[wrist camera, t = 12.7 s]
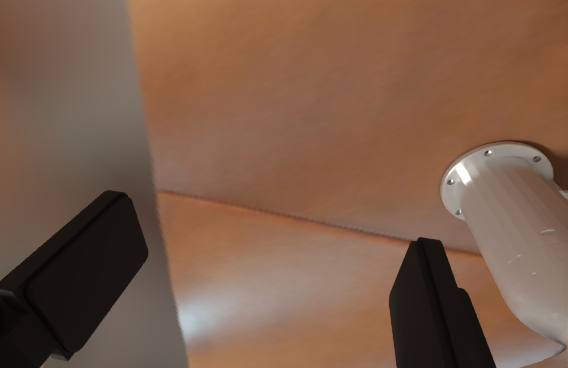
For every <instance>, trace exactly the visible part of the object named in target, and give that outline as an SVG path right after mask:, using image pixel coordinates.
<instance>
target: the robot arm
mask: <svg viewBox="0 0 568 368" xmlns="http://www.w3.org/2000/svg"><path fill="white" fill-rule="evenodd" d="M553 178H554V174H553V168H552V165H551V163H550V161H549V160H548V159H547V157H546V156H545V155H544V154H543V153H541V152H540V151H539V150H538V149H536V148H534V147H532V146H530V145H527V144H524V143H521V142H512V141H505V142H495V143H490V144H486V145H483V146H480V147H477V148H475V149H473V150H471V151H469V152H467V153H465V154H464V155H462V156H461V157H459V158H458V159H457V160H456V161H455V162H454V163H453V164H452V165H451V166H450V167H449V168H448V170H447V171H446V172H445V174H444V176H443V178H442V181H441V185H440V195H441V198H442V201H443V203H444V205H445V207H446V208H447V210H448V211H449V212H450V213H451V214H452V215H454V216H455V217H457V218H459V219H461V220H464V221H466V223H467V225H468V227H469V229H470V231H471V233H472V235H473V237H474V239H475V241H476V243H477V245H478V247H479V249H480V252H481V254H482V256H483V258H484V260H485V262H486V264H487V266H488V268H489V270H490V272H491V274H492V276H493V278H494V280H495V282H496V285H497V287H498V289H499V291H500V292H501V294H502V296H503V299H504V301H505V302H506V304H507V306H508V307H509V309H510V310H511V311H512V312H513V314H514V315H515V316H516V317H517V318H518V319H519V320H520V321H521V322H523V323H524V324H525V325H527V326H528V327H529V328H531V329H532V330H534V331H536V332H537V333H539V334H541V335H543V336H545V337H546V338H548V339H550V340H552V341H555V342H557V343H559V344H561V345H563V346H565V347H566V349H565V351H564V352H562V353H561V354H559V355H556V356H553V357H550V358H547V359H545V360H543V361H541V362H537V363H534V364H531V365H527V366H524V367H521V368H568V190H562V189H561V188H560V187H559V186H558V185H557V184H556V183H555V182H554V181H553ZM147 257H148V248H147V245H146V242H145V239H144V236H143V233H142V230H141V227H140V224H139V221H138V218H137V215H136V212H135V209H134V206H133V202H132V200H131V198H129V197H128V195H127V194H126V193H124V192H118V191H111V190H107V191H105V192H103V193H102V194H101V195H100V196H99V197H98V198H96V199H95V200H94V201H93V202H92V203H91V204H90V205H88V206H87V207H86V208H85V209H83V210H82V211H81V212H80V213H79V214H78V215H77V216H75V217H74V218H73V219H72V220H71V221H70V222H68V223H67V224H66V225H65V226H64V227H63V228H61V229H60V230H59V231H58V232H57V233H56V234H54V235H53V236H52V237H51V238H50V239H49V240H47V241H46V242H45V243H44V244H43V245H42V246H40V247H39V248H38V249H37V250H36V251H35V252H33V253H32V254H31V255H30V256H29V257H28V258H26V259H25V260H24V261H23V262H22V263H21V264H20V265H18V266H17V267H16V268H15V269H14V270H12V271H11V272H10V273H9V274H8V275H7V276H5V277H4V278H3V279H2V280H1V281H0V368H43V367H44V362H45V361H46V360H47V358H48V357H49V356H51V357H52V358H55V359H59V360H64V361H69V360H70V358H71V357H72V356H73V354H74V353H75V352H77V351H79V350H80V349H81V348H82V347H83V346H84V345H85V343H86V342H87V341H88V339H89V338H90V336H91V335H92V334H93V332H94V331H95V330H96V328H97V327H98V325H99V324H100V323H101V321H102V320H103V319H104V317H105V316H106V315H107V313H108V312H109V311H110V309H111V308H112V306H113V305H114V304H115V302H116V301H117V300H118V298H119V297H120V295H121V294H122V293H123V291H124V290H125V289H126V287H127V286H128V284H129V283H130V282H131V280H132V279H133V278H134V276H135V275H136V273H137V272H138V271H139V269H140V268H141V267H142V265H143V263H145V261H146V259H147ZM389 308H390V316H391V324H392V333H393V341H394V349H395V357H396V365H397V368H496V365H495V362H494V360H493V357H492V355H491V352H490V349H489V347H488V344H487V341H486V339H485V336H484V334H483V331H482V328H481V326H480V323H479V320H478V318H477V315H476V313H475V310H474V307H473V305H472V302H471V299H470V297H469V295H468V293H467V292H466V291H465V290H464V289H462V288H458V287H457V284H456V281H455V278H454V275H453V273H452V270H451V267H450V264H449V261H448V258H447V256H446V253H445V250H444V247H443V244H442V242H441V241H440V240H435V239H429V238H422V237H419V238H418V240H417V241H411V243H410V245H409V248H408V250H407V252H406V255H405V257H404V260H403V262H402V265H401V267H400V270H399V272H398V275H397V277H396V280H395V282H394V285H393V287H392V290H391V292H390V296H389Z"/></svg>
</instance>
